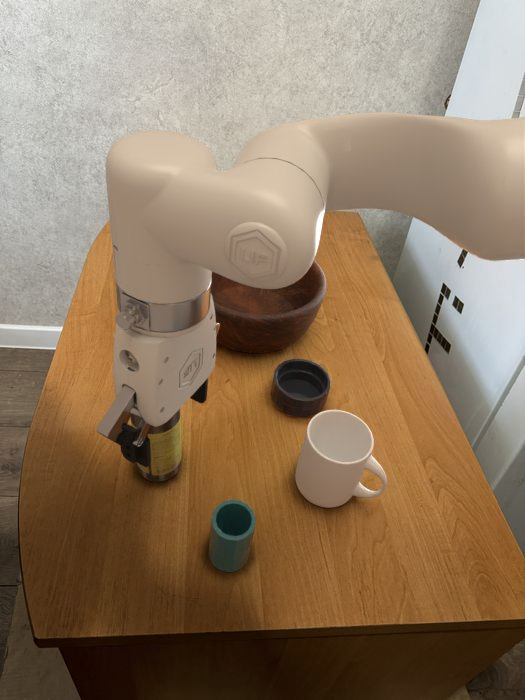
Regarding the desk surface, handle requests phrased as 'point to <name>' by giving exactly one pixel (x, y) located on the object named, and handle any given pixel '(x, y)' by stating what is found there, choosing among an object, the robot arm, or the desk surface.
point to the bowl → (300, 387)
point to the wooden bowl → (266, 311)
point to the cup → (231, 535)
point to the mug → (336, 459)
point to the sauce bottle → (162, 448)
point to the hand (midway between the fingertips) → (166, 426)
